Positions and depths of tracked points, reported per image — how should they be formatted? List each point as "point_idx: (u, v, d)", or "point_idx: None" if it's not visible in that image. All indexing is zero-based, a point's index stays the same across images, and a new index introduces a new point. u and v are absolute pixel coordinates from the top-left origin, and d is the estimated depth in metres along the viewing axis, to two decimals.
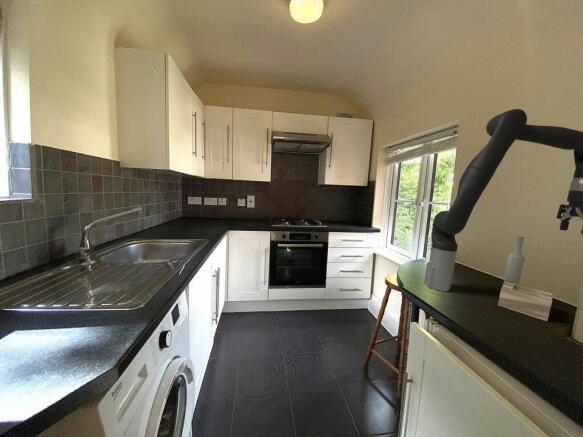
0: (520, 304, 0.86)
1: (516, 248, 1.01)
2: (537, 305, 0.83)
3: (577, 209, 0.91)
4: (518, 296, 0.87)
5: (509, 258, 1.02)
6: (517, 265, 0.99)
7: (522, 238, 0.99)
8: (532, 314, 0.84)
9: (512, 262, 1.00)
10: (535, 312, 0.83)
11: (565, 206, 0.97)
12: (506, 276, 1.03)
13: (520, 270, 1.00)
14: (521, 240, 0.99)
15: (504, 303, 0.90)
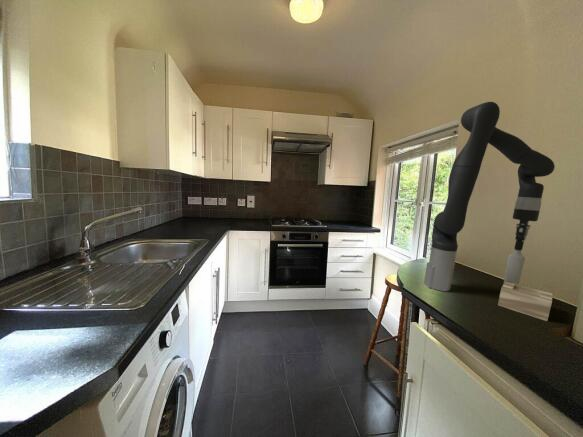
0: (520, 304, 0.86)
1: None
2: (537, 305, 0.83)
3: (529, 227, 0.99)
4: (518, 296, 0.87)
5: (509, 258, 1.02)
6: (517, 265, 0.99)
7: None
8: (532, 314, 0.84)
9: (512, 262, 1.00)
10: (535, 312, 0.83)
11: None
12: (506, 276, 1.03)
13: (520, 270, 1.00)
14: None
15: (504, 303, 0.90)
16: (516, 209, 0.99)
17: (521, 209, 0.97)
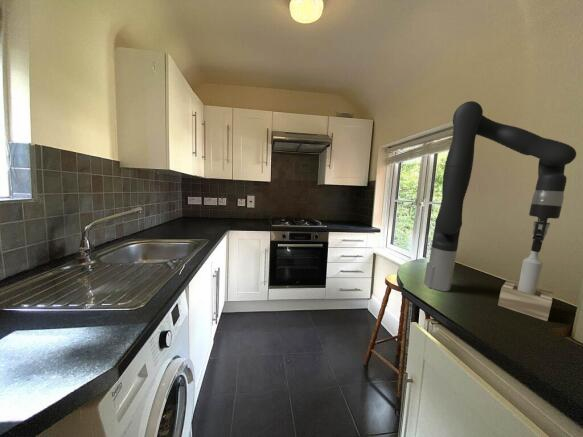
0: (520, 304, 0.86)
1: (532, 252, 0.87)
2: (537, 305, 0.83)
3: None
4: (518, 296, 0.87)
5: (524, 263, 0.89)
6: (534, 272, 0.86)
7: None
8: (532, 314, 0.84)
9: (527, 268, 0.87)
10: (535, 312, 0.83)
11: None
12: (520, 284, 0.89)
13: (537, 278, 0.86)
14: None
15: (504, 303, 0.90)
16: (534, 204, 0.86)
17: (540, 204, 0.84)
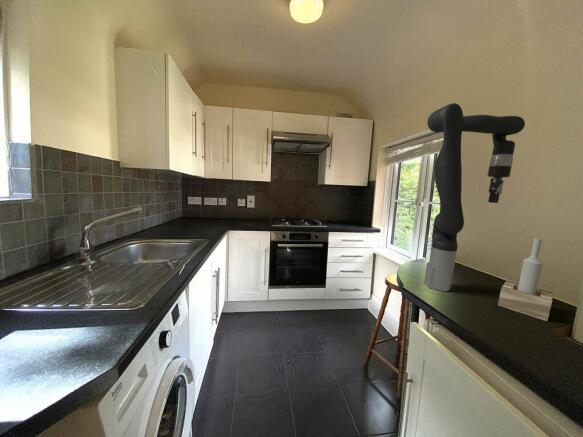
0: (520, 304, 0.86)
1: (532, 252, 0.87)
2: (537, 305, 0.83)
3: (503, 183, 1.06)
4: (518, 296, 0.87)
5: (524, 263, 0.89)
6: (534, 272, 0.86)
7: (540, 241, 0.86)
8: (532, 314, 0.84)
9: (528, 268, 0.87)
10: (535, 312, 0.83)
11: None
12: (520, 284, 0.89)
13: (538, 278, 0.86)
14: (538, 243, 0.86)
15: (504, 303, 0.90)
16: (490, 166, 1.06)
17: (494, 166, 1.04)
